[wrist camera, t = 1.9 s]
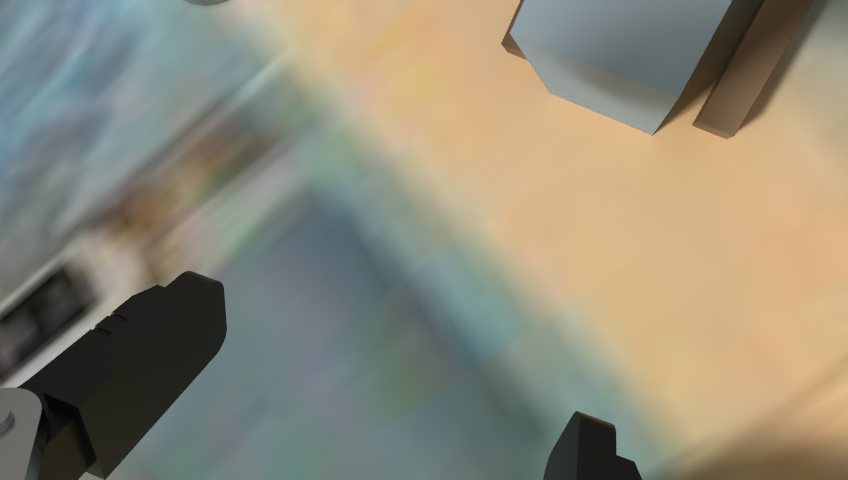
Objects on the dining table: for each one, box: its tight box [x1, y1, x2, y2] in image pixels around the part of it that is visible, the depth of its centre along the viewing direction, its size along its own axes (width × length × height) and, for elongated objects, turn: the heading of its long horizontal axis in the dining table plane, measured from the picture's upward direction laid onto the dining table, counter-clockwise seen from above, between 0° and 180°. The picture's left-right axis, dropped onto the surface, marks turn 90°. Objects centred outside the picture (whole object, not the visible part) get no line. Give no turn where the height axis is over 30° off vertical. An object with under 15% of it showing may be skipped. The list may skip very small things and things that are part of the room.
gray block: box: [510, 0, 732, 135], centre depth 18 cm, size 5×5×10 cm
